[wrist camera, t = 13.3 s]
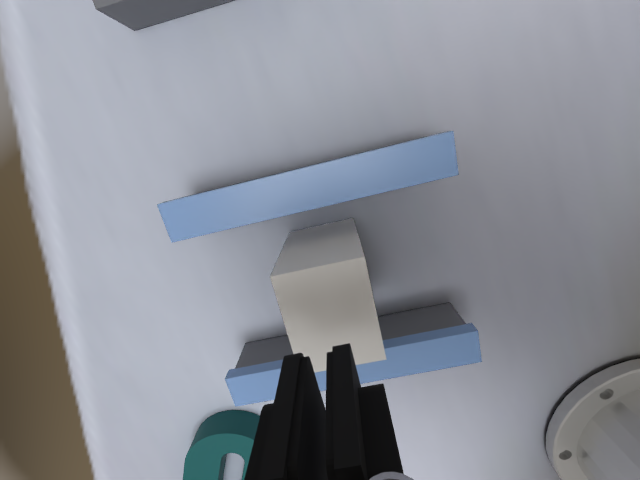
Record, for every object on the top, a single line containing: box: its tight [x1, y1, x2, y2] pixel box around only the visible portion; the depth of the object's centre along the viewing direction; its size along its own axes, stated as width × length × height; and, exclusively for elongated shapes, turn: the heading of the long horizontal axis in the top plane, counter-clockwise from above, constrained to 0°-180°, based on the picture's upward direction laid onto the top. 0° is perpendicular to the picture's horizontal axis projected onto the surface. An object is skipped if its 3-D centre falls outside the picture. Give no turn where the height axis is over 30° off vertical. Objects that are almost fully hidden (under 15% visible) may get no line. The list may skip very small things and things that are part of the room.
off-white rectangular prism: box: [270, 218, 387, 373], centre depth 18 cm, size 4×5×7 cm
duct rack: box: [93, 0, 482, 406], centre depth 16 cm, size 14×33×4 cm, turn 14°
